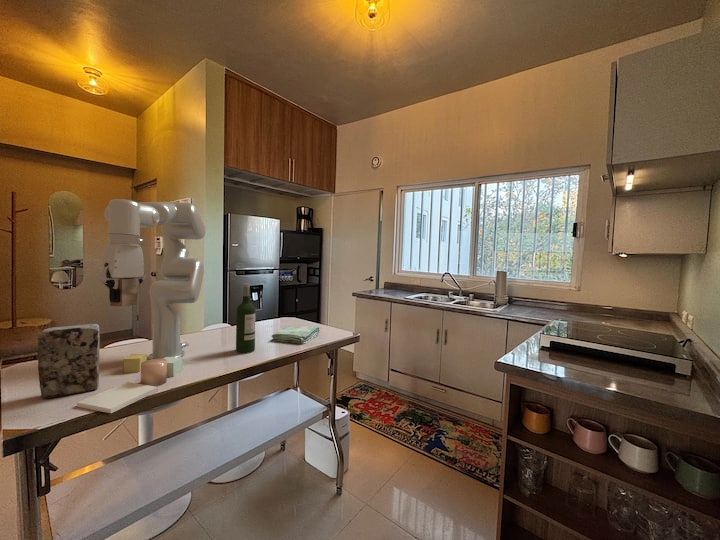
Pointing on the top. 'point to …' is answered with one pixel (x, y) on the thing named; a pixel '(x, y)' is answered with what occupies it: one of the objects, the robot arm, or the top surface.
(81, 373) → the stone block
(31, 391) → the top surface
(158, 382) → the peach rounded cube
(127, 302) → the walnut block
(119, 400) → the cream board
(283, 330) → the towel
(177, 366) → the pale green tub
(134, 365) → the mustard cube
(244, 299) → the wine bottle
